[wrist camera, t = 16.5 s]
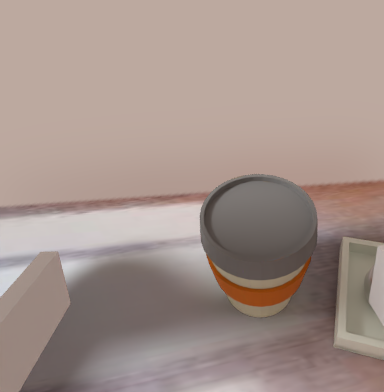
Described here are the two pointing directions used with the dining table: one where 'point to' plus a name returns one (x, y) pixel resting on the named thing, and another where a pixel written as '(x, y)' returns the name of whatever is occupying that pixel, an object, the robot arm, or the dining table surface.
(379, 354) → the tray
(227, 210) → the reusable coffee cup
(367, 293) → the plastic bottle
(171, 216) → the dining table surface
